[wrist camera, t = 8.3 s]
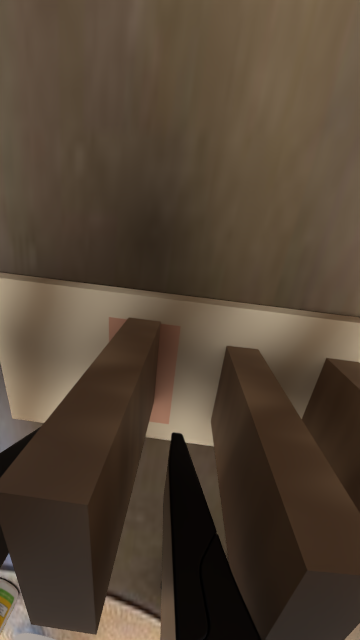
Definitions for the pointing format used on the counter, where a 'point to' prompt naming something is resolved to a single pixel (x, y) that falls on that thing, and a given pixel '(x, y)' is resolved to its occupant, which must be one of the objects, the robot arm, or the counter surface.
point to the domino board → (174, 346)
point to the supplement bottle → (6, 601)
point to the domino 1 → (80, 483)
